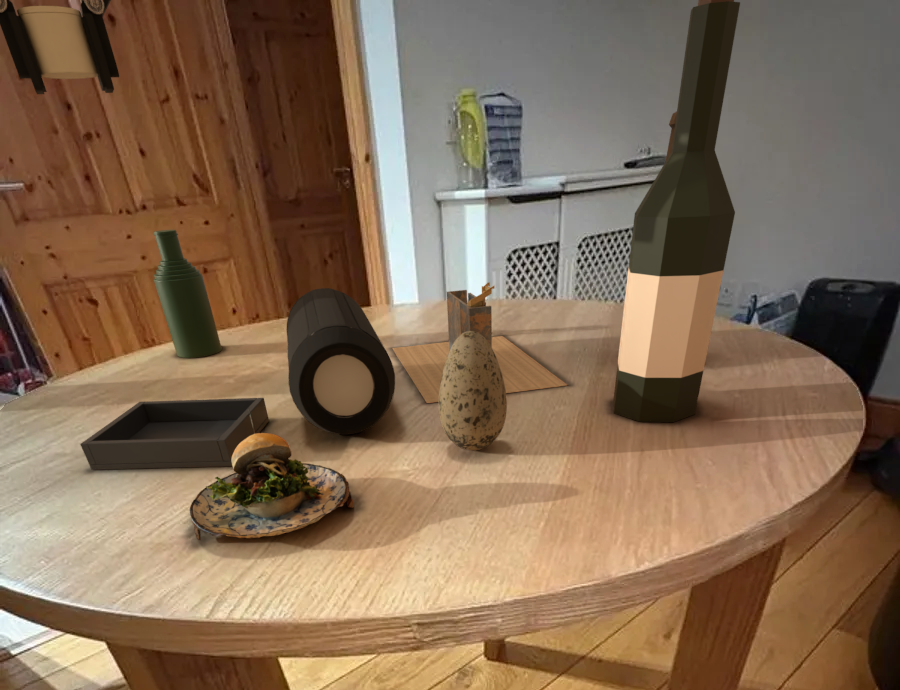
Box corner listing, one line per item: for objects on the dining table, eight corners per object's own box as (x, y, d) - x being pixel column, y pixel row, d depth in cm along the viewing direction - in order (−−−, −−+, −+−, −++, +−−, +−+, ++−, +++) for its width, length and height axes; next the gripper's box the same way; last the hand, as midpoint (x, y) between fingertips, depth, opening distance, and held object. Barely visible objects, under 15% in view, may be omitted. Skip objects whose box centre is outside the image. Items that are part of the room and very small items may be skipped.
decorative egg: (519, 450, 53) (522, 331, 47) (464, 467, 51) (459, 344, 45) (482, 430, 58) (480, 319, 52) (429, 446, 55) (420, 331, 49)
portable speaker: (295, 375, 76) (278, 288, 70) (372, 366, 77) (361, 280, 71) (301, 451, 56) (277, 337, 50) (404, 437, 57) (393, 325, 51)
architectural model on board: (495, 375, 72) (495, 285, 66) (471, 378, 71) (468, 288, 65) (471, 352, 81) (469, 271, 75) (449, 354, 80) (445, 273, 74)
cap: (26, 76, 43) (2, 10, 41) (71, 80, 46) (51, 19, 44) (68, 71, 42) (45, 3, 39) (111, 75, 44) (93, 12, 42)
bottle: (169, 358, 86) (130, 234, 77) (187, 347, 91) (152, 229, 82) (212, 357, 85) (177, 232, 76) (228, 345, 90) (197, 227, 81)
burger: (171, 560, 41) (131, 458, 37) (222, 484, 51) (195, 396, 46) (342, 552, 41) (323, 449, 36) (362, 477, 50) (349, 388, 46)
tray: (91, 469, 55) (79, 444, 53) (147, 424, 64) (139, 401, 62) (232, 466, 54) (224, 439, 52) (269, 421, 63) (263, 397, 61)
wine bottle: (682, 428, 56) (770, -32, 38) (597, 415, 59) (640, -8, 41) (705, 401, 61) (792, -12, 43) (626, 390, 65) (675, 7, 47)
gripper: (-293, -431, 28) (-66, 88, 39) (98, -348, 33) (198, 84, 44) (-232, -330, 33) (-49, 99, 44) (95, -274, 39) (185, 94, 50)
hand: (74, 88), depth 44 cm, fingers closed on cap, 3 cm apart
